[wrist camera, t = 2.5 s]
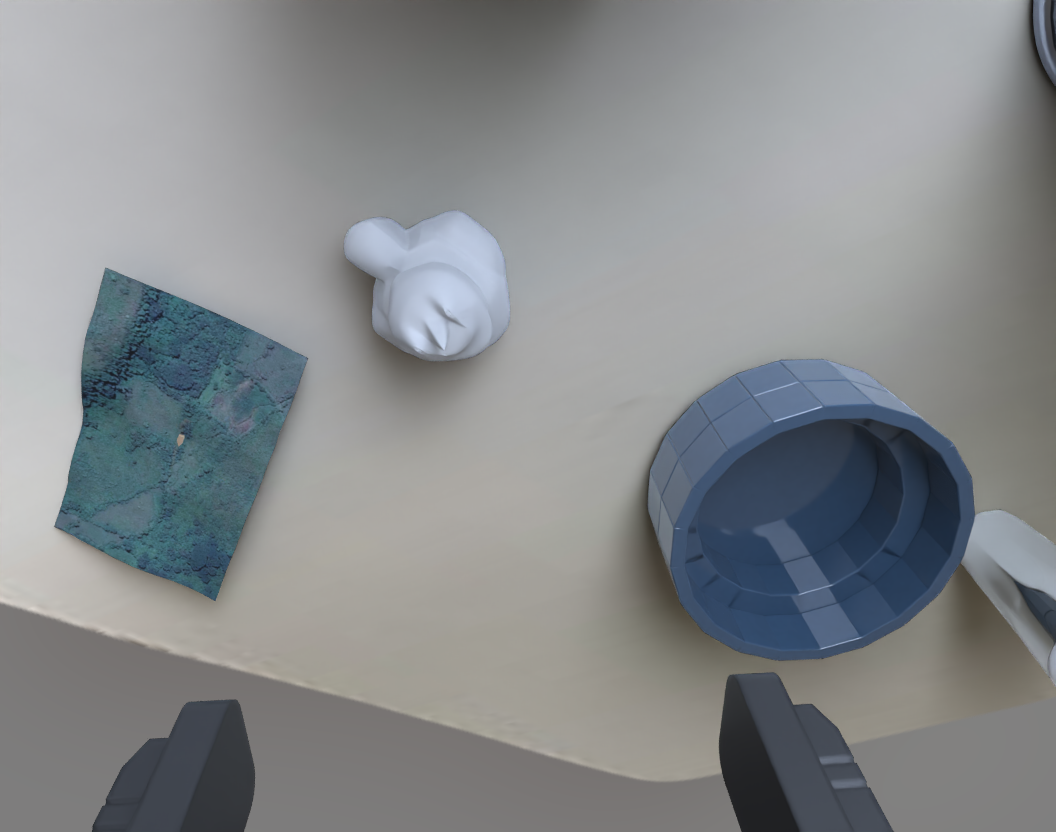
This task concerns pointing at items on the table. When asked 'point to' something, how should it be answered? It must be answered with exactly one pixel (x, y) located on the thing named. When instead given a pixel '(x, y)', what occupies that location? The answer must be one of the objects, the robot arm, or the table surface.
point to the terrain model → (173, 432)
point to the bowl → (807, 510)
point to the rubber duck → (433, 284)
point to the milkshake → (1017, 579)
